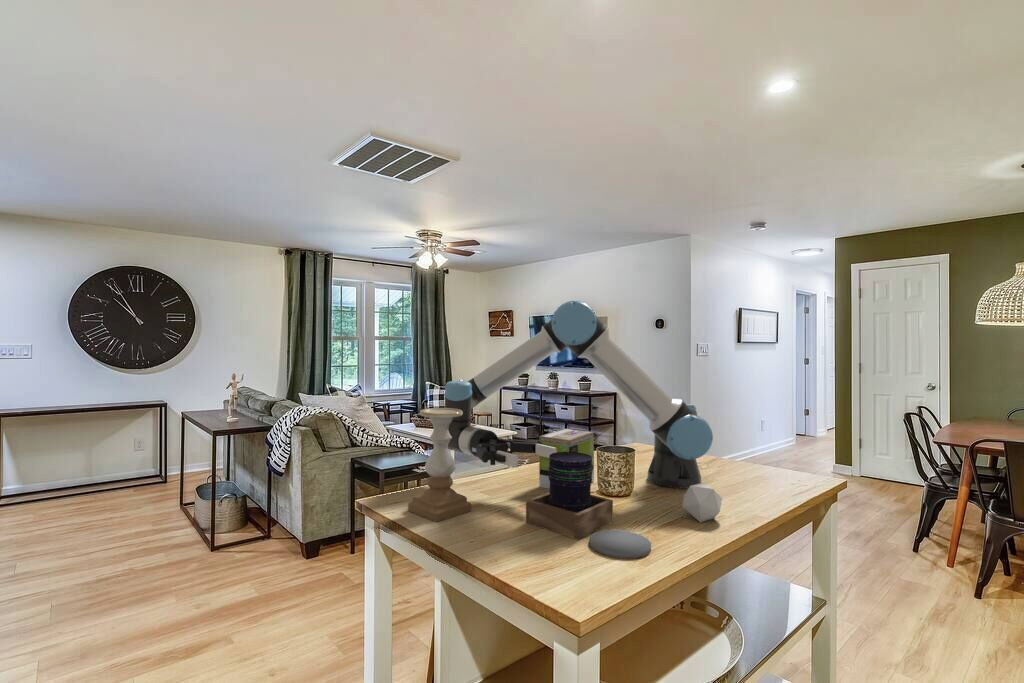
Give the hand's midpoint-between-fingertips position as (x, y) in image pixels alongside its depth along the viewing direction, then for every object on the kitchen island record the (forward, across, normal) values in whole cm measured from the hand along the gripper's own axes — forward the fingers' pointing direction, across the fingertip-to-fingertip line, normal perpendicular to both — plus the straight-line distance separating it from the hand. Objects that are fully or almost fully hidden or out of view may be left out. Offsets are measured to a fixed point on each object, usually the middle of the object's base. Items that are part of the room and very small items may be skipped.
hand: (537, 457), depth 123 cm
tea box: (-10, -24, -13) cm, 29 cm away
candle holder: (-15, +17, -13) cm, 27 cm away
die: (+29, -26, -13) cm, 41 cm away
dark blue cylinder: (+10, 0, -13) cm, 17 cm away
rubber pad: (+25, +2, -13) cm, 29 cm away
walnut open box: (+10, 0, -13) cm, 16 cm away
